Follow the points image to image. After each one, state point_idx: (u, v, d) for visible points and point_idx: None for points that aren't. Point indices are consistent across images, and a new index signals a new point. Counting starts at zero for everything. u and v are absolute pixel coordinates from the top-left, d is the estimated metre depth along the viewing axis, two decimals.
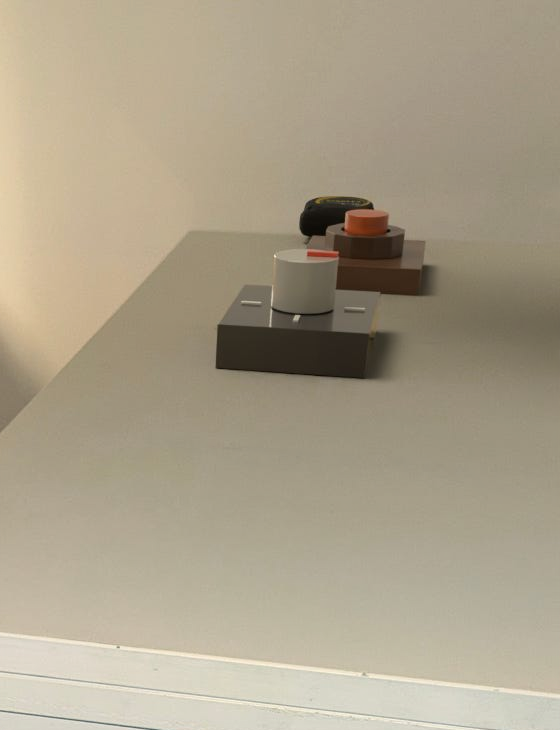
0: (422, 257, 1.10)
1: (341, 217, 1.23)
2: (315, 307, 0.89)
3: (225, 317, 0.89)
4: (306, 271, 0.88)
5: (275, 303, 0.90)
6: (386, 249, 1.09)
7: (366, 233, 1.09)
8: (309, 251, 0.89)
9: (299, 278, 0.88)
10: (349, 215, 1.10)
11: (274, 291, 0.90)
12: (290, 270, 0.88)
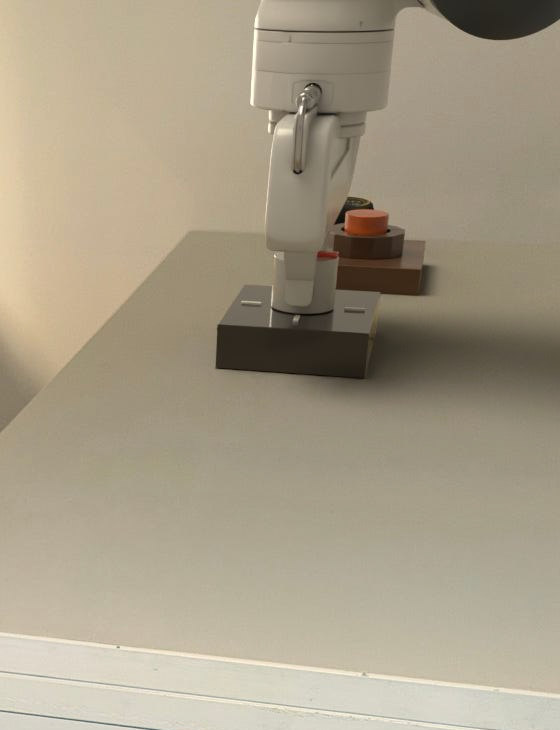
0: (422, 257, 1.10)
1: (341, 217, 1.23)
2: (315, 307, 0.89)
3: (225, 317, 0.89)
4: None
5: (275, 303, 0.90)
6: (386, 249, 1.09)
7: (366, 233, 1.09)
8: None
9: None
10: (349, 215, 1.10)
11: (274, 291, 0.90)
12: None
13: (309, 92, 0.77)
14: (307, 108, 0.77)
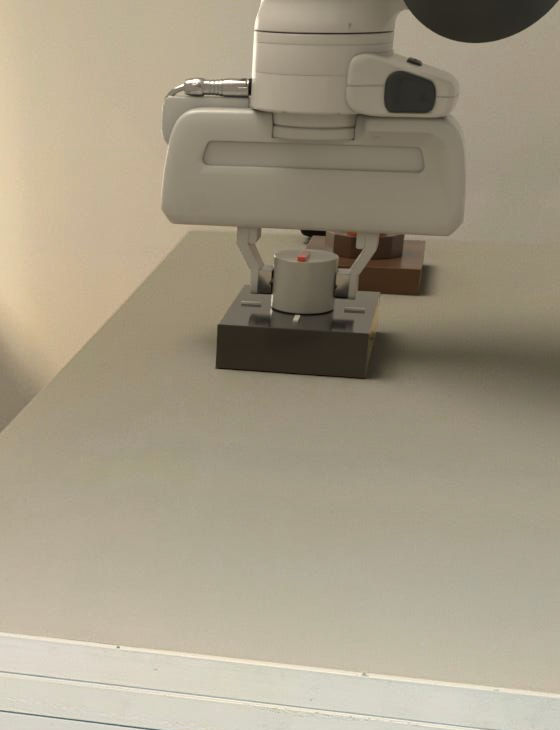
0: (422, 257, 1.10)
1: None
2: (272, 301, 0.91)
3: (225, 317, 0.89)
4: None
5: None
6: (386, 249, 1.09)
7: None
8: (305, 251, 0.89)
9: None
10: None
11: None
12: None
13: (190, 79, 0.86)
14: (184, 93, 0.87)
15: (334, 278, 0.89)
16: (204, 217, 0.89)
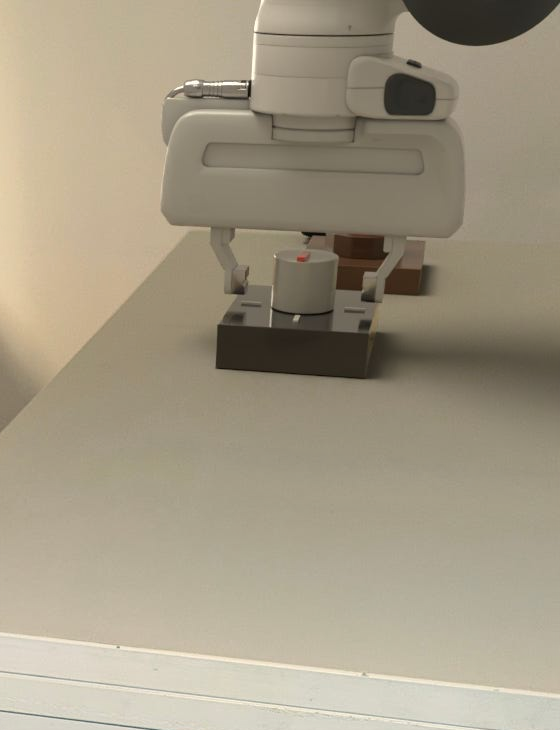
0: (422, 257, 1.10)
1: None
2: (272, 301, 0.91)
3: (225, 317, 0.89)
4: None
5: None
6: None
7: None
8: (305, 251, 0.89)
9: None
10: None
11: None
12: None
13: (190, 81, 0.86)
14: (184, 94, 0.87)
15: (334, 278, 0.89)
16: (203, 219, 0.89)
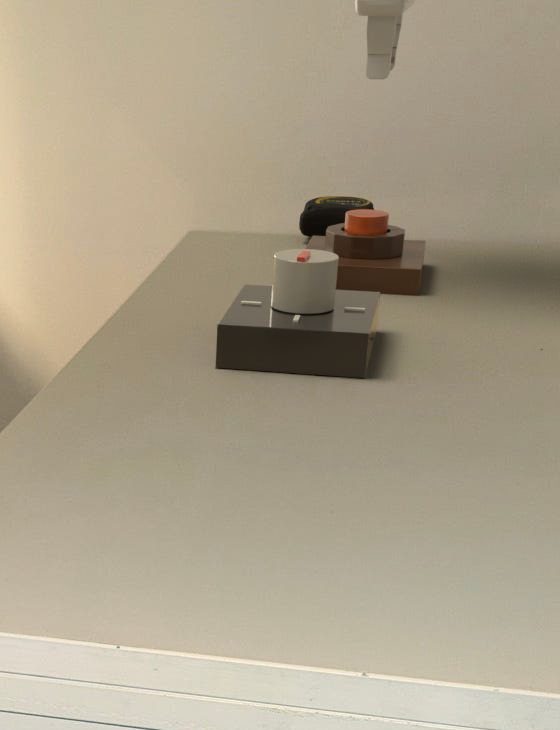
0: (422, 257, 1.10)
1: (341, 217, 1.23)
2: (272, 301, 0.91)
3: (225, 317, 0.89)
4: None
5: None
6: (386, 249, 1.09)
7: (366, 233, 1.09)
8: (305, 251, 0.89)
9: None
10: (349, 215, 1.10)
11: None
12: None
13: None
14: None
15: (334, 278, 0.89)
16: (406, 5, 0.96)
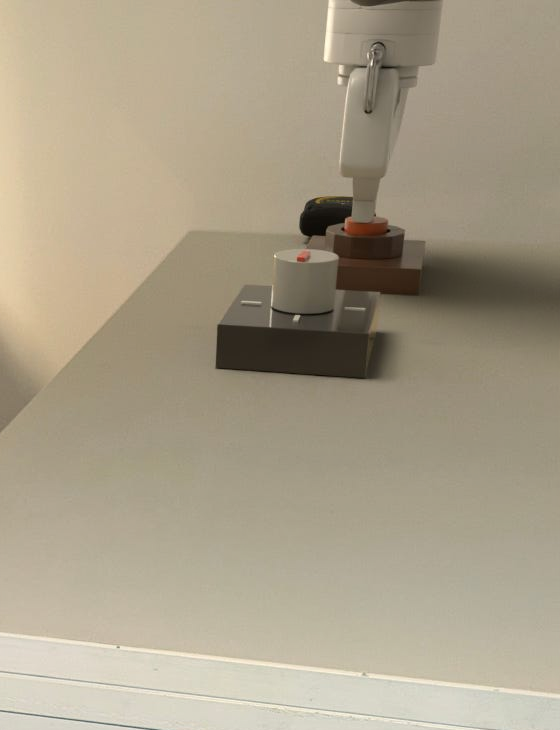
0: (422, 257, 1.10)
1: (341, 217, 1.23)
2: (272, 301, 0.91)
3: (225, 317, 0.89)
4: None
5: None
6: (386, 249, 1.09)
7: None
8: (305, 251, 0.89)
9: None
10: (348, 221, 1.10)
11: None
12: None
13: (378, 47, 0.97)
14: (377, 60, 0.97)
15: (334, 278, 0.89)
16: None
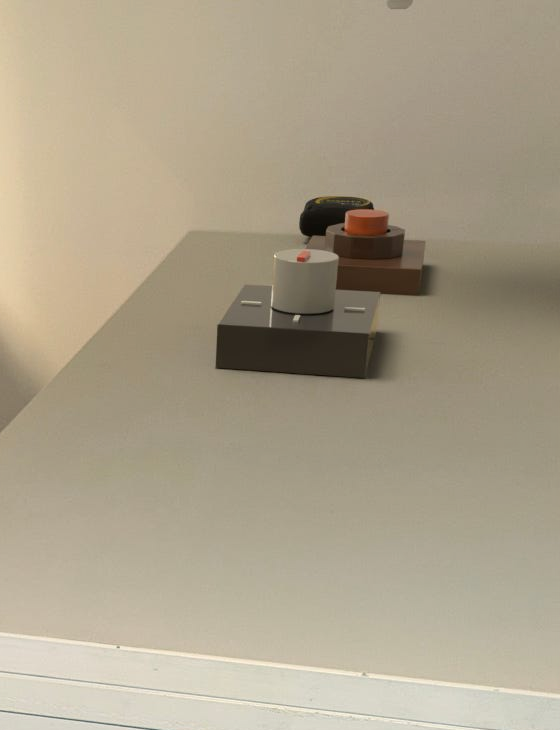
0: (422, 257, 1.10)
1: (341, 217, 1.23)
2: (272, 301, 0.91)
3: (225, 317, 0.89)
4: None
5: None
6: (386, 249, 1.09)
7: (366, 233, 1.09)
8: (305, 251, 0.89)
9: None
10: (349, 215, 1.10)
11: None
12: None
13: None
14: None
15: (334, 278, 0.89)
16: None
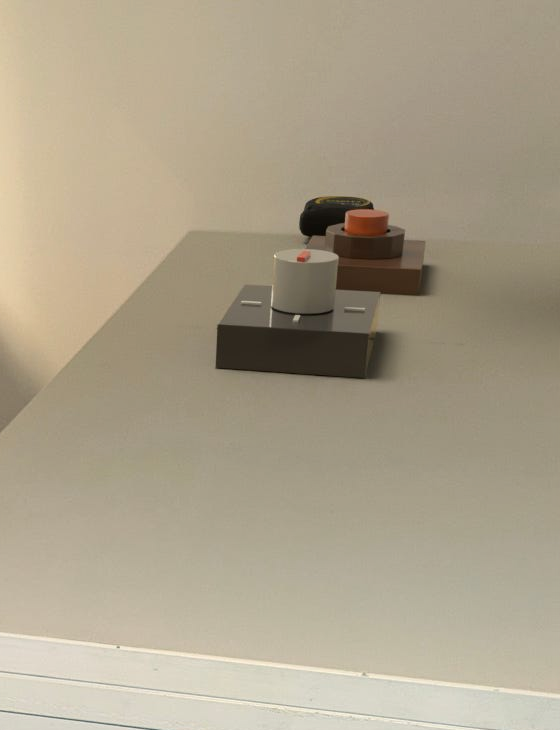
0: (422, 257, 1.10)
1: (341, 217, 1.23)
2: (272, 301, 0.91)
3: (225, 317, 0.89)
4: None
5: None
6: (386, 249, 1.09)
7: (366, 233, 1.09)
8: (305, 251, 0.89)
9: None
10: (349, 215, 1.10)
11: None
12: None
13: None
14: None
15: (334, 278, 0.89)
16: None
